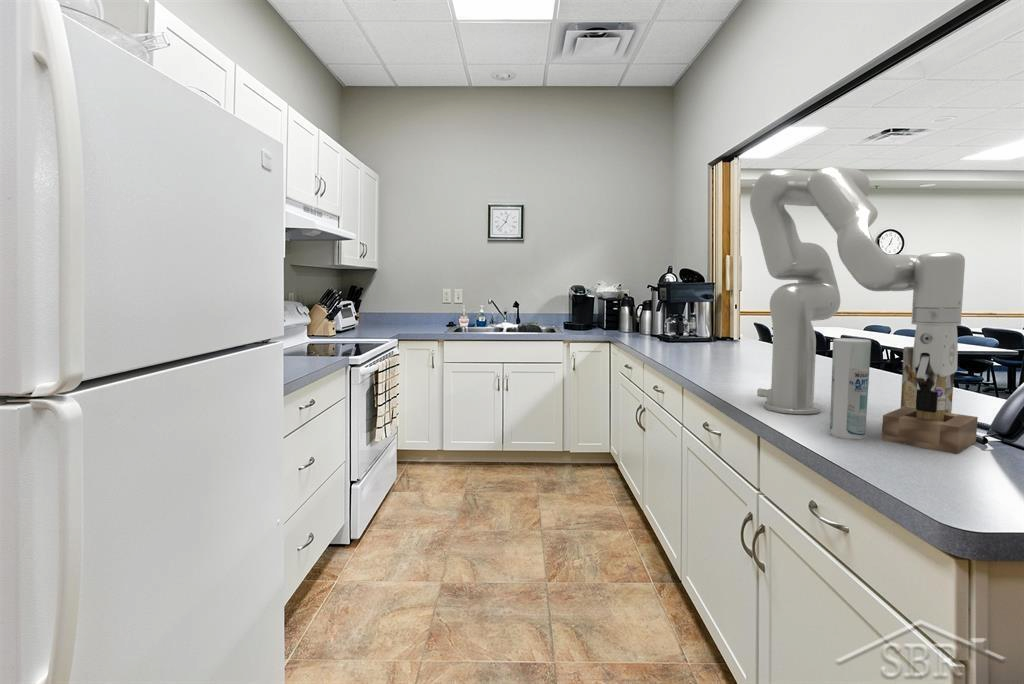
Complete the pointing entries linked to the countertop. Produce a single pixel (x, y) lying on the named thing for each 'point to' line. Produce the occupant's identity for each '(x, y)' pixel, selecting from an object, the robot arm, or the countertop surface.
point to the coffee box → (911, 383)
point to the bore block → (930, 430)
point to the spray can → (849, 387)
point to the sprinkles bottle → (940, 401)
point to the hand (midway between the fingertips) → (930, 408)
